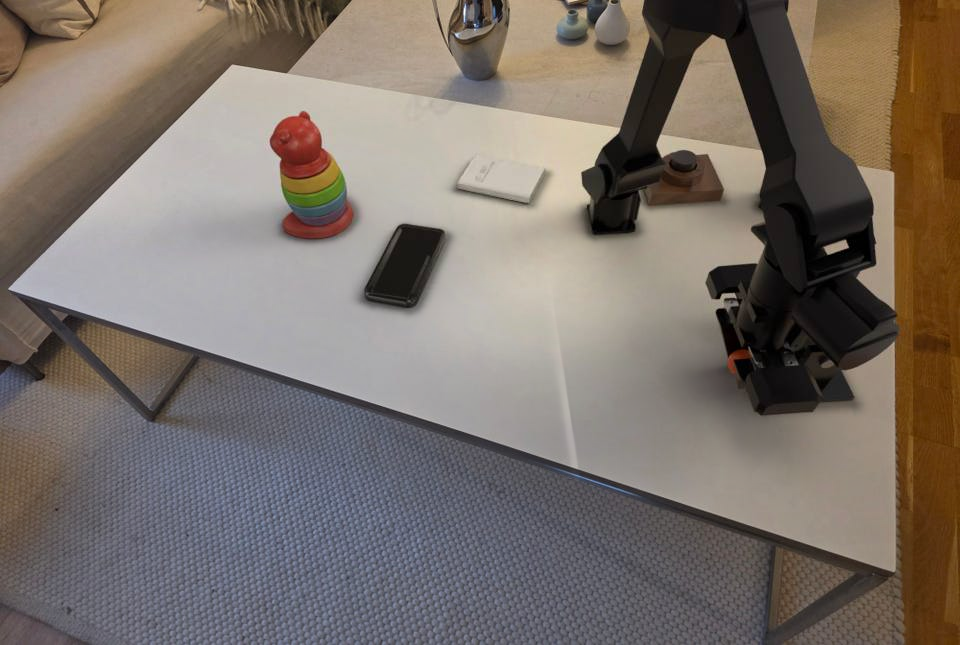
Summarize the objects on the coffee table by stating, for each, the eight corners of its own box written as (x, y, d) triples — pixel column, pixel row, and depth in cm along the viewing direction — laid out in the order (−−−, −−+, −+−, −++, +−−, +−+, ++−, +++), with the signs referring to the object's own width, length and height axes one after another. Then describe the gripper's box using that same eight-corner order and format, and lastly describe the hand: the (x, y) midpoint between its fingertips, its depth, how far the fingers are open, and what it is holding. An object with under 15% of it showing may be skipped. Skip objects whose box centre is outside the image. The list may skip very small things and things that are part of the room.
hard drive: (529, 205, 93) (457, 189, 97) (545, 174, 98) (476, 160, 101) (529, 197, 92) (457, 181, 95) (545, 166, 96) (476, 152, 100)
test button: (673, 174, 90) (675, 165, 89) (668, 160, 92) (670, 150, 91) (697, 172, 90) (699, 163, 89) (691, 158, 92) (693, 148, 91)
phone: (361, 294, 82) (399, 222, 91) (363, 299, 83) (400, 227, 92) (414, 303, 80) (447, 229, 89) (415, 308, 81) (448, 235, 90)
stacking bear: (320, 190, 99) (286, 92, 85) (369, 206, 95) (342, 107, 81) (278, 230, 93) (234, 133, 79) (328, 249, 90) (292, 151, 76)
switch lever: (734, 385, 69) (730, 372, 67) (726, 362, 71) (722, 349, 68) (837, 357, 65) (836, 342, 63) (825, 334, 67) (824, 319, 65)
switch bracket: (763, 408, 68) (790, 366, 62) (742, 352, 73) (764, 307, 67) (850, 402, 68) (887, 359, 61) (823, 347, 73) (854, 301, 66)
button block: (649, 205, 91) (653, 185, 88) (637, 169, 97) (641, 149, 94) (720, 200, 91) (727, 179, 88) (704, 165, 97) (710, 144, 93)
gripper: (910, 360, 52) (839, 442, 64) (824, 219, 64) (778, 311, 76) (782, 370, 52) (736, 449, 64) (720, 228, 64) (691, 317, 76)
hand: (738, 376), depth 70 cm, fingers closed on switch lever, 3 cm apart
